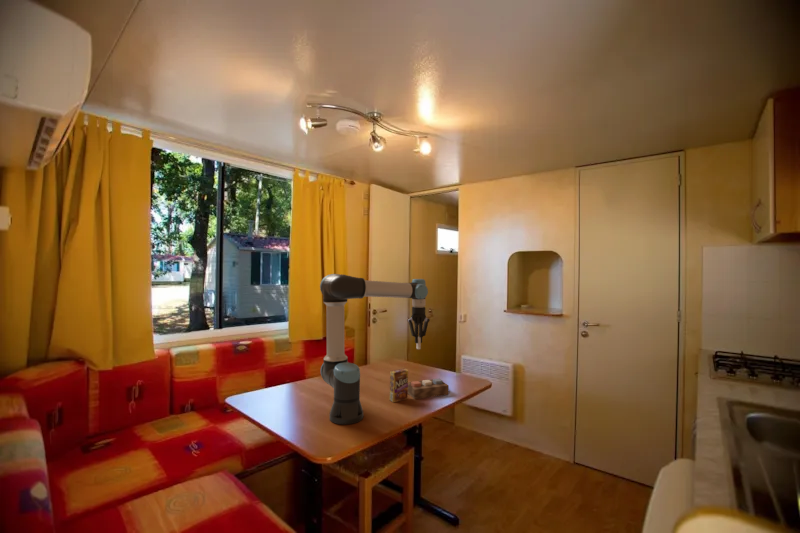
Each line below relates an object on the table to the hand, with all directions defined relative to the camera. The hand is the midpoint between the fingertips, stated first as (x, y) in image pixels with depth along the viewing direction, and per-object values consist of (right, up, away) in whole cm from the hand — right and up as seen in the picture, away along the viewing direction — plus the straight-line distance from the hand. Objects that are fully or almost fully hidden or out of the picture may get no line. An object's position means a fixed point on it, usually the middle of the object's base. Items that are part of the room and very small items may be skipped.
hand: (418, 348), depth 197 cm
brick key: (-2, -21, -7) cm, 22 cm away
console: (+4, -23, -5) cm, 24 cm away
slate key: (+10, -21, -2) cm, 23 cm away
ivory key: (+4, -21, -5) cm, 22 cm away
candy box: (-11, -23, -15) cm, 30 cm away
